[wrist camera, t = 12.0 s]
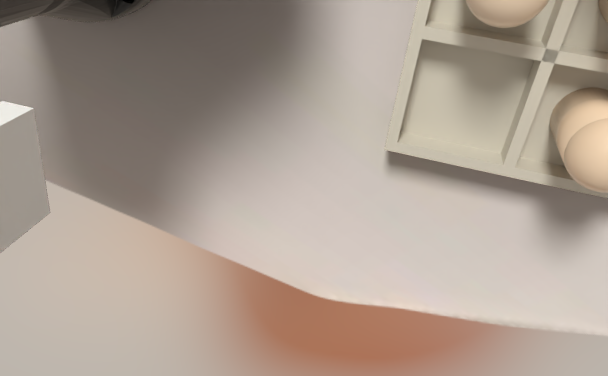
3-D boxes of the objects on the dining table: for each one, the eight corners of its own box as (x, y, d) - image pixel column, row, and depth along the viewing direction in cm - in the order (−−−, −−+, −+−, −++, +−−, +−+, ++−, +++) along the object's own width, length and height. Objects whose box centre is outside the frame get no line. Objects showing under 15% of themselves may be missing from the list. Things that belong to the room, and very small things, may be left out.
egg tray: (387, 136, 40) (384, 149, 38) (446, -125, 32) (446, -126, 29) (625, 187, 38) (635, 204, 36) (762, -81, 29) (787, -78, 27)
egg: (540, 142, 37) (558, 196, 31) (564, 81, 35) (590, 125, 28) (607, 156, 37) (641, 215, 30) (637, 94, 34) (680, 143, 28)
